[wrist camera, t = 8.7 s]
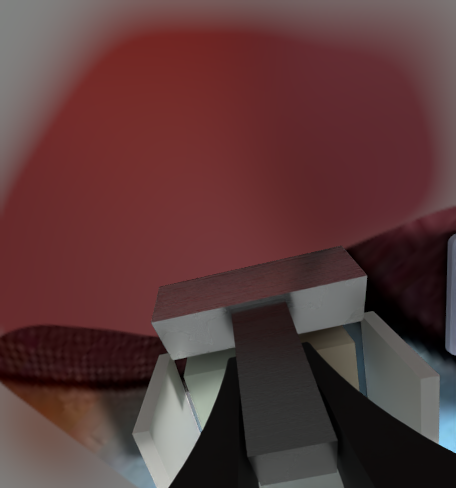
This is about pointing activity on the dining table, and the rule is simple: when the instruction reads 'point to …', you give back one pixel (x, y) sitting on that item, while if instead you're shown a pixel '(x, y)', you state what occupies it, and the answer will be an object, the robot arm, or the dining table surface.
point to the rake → (270, 349)
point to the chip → (335, 351)
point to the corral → (378, 391)
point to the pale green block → (206, 379)
